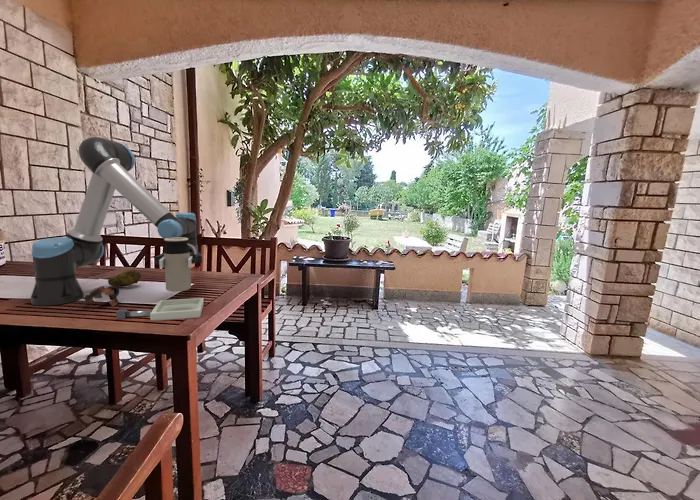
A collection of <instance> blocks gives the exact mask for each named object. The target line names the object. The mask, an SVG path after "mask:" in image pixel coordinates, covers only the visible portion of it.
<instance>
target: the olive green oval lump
mask: <svg viewBox="0 0 700 500" xmlns="http://www.w3.org/2000/svg"><path fill="white" fill-rule="evenodd" d="M141 277H142V274H141V272H140V271H139V270H136V269H134V268H133V269H126V270H123V271H122V272H120V273H118V274H115V275H113V276H111V277H109V278H108V280H107V284H108V285H109V286H110V287H111V286H116V287H118V288H119V287H123V288H124V287H129V286H132V285H134V284H138V282H139V281H140V280H141Z"/></svg>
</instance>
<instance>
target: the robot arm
mask: <svg viewBox="0 0 700 500" xmlns="http://www.w3.org/2000/svg"><path fill="white" fill-rule="evenodd" d="M78 155H79V158H80V160H81V162H82V163H83V164H84V165H85V166H86V167H87V168H88V169H89V170H90V172H91V177H90V181H89V183H88V186H87V189H86V193H85V195H84V199H83V202H82V204H81V206H80V211H79V213H78V216H77V219H76V222H75V225H74V228H72V229H70V230H68V232H67V234H66V237H65V236H63V237H60V236H59V237H51V238H43V239H40V240H37V241H35V242H33V243H32V245H31V246H32V247H31V256H32V264H33V271H34V281H35V282H34V287H33V289H32V293H31V295H30V303H31V305H33V306H40V307H42V306H43V307H45V306H57V305H58V306H59V305H64V304H69V303H73V302H74V303H75V302H77V301H79V300H82V299H83V297H84V296H85V295H84V290H83V288H82V286H81V285H80V283H79V281H78V279H77V273H76V271H77V270H76V269H77V268H81V267H84V266H90V265H92V264H95V263H96V262H98V261H99V260H100V259H102V257H103V256H104V253H105V246H104V245H103V241H104V240H103V237H102V236H101V232H102V229H103V225H104V223H105V219H106V217H107V213H108V211H109V208H110V205H111V203H112V200H113V196H114V194H115V190H116V191H117V192H118V193H119V194H120V195H122V197H123V198H125V200H126V201H127V202H128V203H130V204H131V205H132V206H134V208H135V209H136V210H137V211H139V212H140V214H142V215H143V216H144V217H145V218H146V219H147V220H148V221H149V222H150V223H152V224H153V225H154V226H155V227H156V228H157V229H156V230H157V233H158V236H160V237H161V238H162V239H163V240H164V239H165V238H176V237H182V238H188V241H187V244H188V246H189V248H190V258H189V259H188V267H190V268H192V265H194V264H197V262H198V263H199V264H202V263H203V257H202V256H203V255H202V252H201V251H199V245H198V238H197V218H196V213H194V212H177V213H175V215H174V214H173V213H171V211H170V210H169V209H168V208H167V207H166V206H165V205H163V204H162V203H161V202H160V200H158V199H157V198H156V197H155V195H153V194H152V193H151V192H150V191H149V190H148V189H146V188H145V187H144V186H143V185H142V184H141V183H140V182H139V181H138V180H137V179H136V178H135V177H134V176H133V175H132V174H131V173H130V172H129V171H132V169H133V168H134V166H135V162H136V159H135V155H134V153H133V152H132V150H131V149H130V148H129V147H128V146H126V145H125V144H123V143H121V142H118V141H115V140H110V139H106V138H103V137H99V136H91V137H87V138H86V139H84V140H82V142H81V143H80V144H79V146H78ZM154 265H159V269H163V268H165V263H164V252H161V254H159V255H156V256H154Z"/></svg>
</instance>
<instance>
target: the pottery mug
mask: <svg viewBox="0 0 700 500" xmlns="http://www.w3.org/2000/svg"><path fill="white" fill-rule="evenodd" d="M119 293H120V290H119V287H118V286H111V285H110V287H107V288H106V287H105V286H104V285H102V286H99V287H97V288H95V289H93V290H92V291H91V292H90V293H89V294H86V295H84V297H83V298H82V299H83V300H84V304H85V305H87V304H89V305H90V306H92V305H94V303H95V300H94V299H103V296H102V294H104V295H106V296H108V297H109V300H110V301H109V302H108V303H109V304H110V306H111V308H114V307H115V306H116V305H118V304H119V300H118V298H117V297H118V295H119Z"/></svg>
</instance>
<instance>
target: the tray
mask: <svg viewBox="0 0 700 500" xmlns="http://www.w3.org/2000/svg"><path fill="white" fill-rule="evenodd" d="M204 301H205V300H204V297H196V298H195V297H194V298H179V299H178V298H177V299H161V300H158V302H157V303H156V304H155V306H154V308H153V309H152V310H151V313H150V316H149V317H150V322H155V321H167V320H180V319H181V320H182V319H194V318H201V316H202V312H203V308H204Z"/></svg>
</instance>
